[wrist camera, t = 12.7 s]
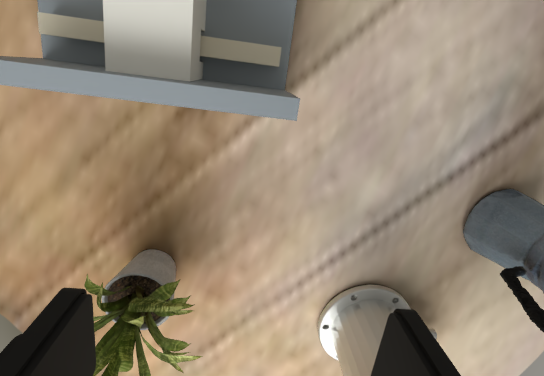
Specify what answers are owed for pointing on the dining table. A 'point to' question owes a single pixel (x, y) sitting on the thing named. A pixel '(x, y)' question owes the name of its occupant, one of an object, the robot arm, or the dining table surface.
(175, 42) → the cream rectangular block
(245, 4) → the cleat board
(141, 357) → the house plant
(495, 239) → the moka pot
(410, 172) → the dining table surface
